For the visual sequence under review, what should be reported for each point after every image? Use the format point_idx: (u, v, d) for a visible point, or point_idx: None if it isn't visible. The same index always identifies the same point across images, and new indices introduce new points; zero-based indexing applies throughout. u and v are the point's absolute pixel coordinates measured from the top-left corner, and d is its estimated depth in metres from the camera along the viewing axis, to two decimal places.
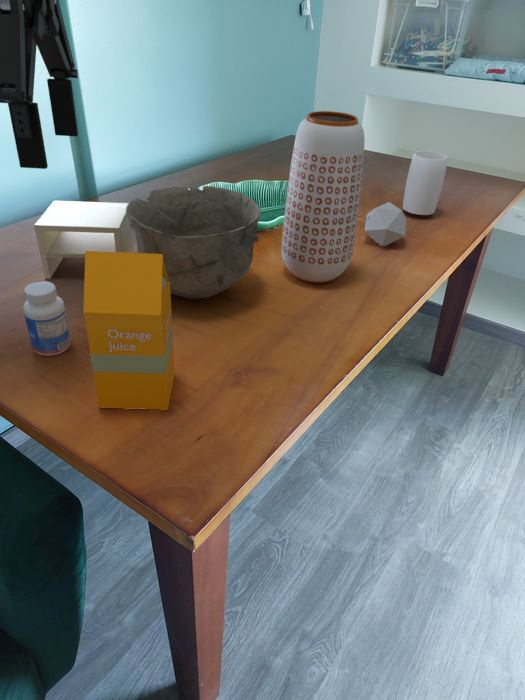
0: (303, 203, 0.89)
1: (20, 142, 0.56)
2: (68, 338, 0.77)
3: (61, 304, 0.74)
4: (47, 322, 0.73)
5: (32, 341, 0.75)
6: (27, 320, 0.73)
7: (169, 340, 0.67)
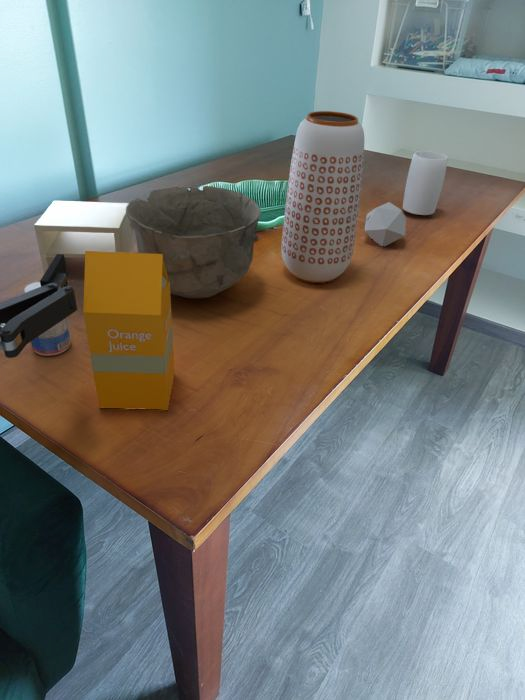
0: (303, 203, 0.89)
1: None
2: (68, 338, 0.77)
3: None
4: None
5: (32, 341, 0.75)
6: None
7: (169, 340, 0.67)
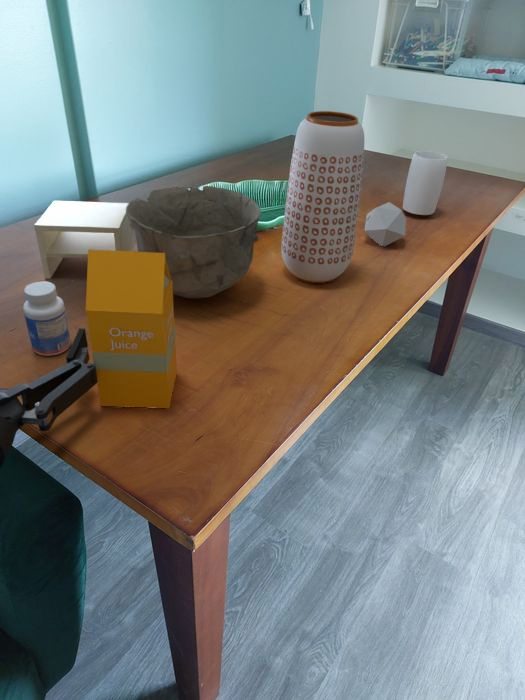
0: (303, 203, 0.89)
1: None
2: (68, 338, 0.77)
3: (61, 304, 0.74)
4: (47, 322, 0.73)
5: (32, 341, 0.75)
6: (27, 320, 0.73)
7: (171, 339, 0.68)
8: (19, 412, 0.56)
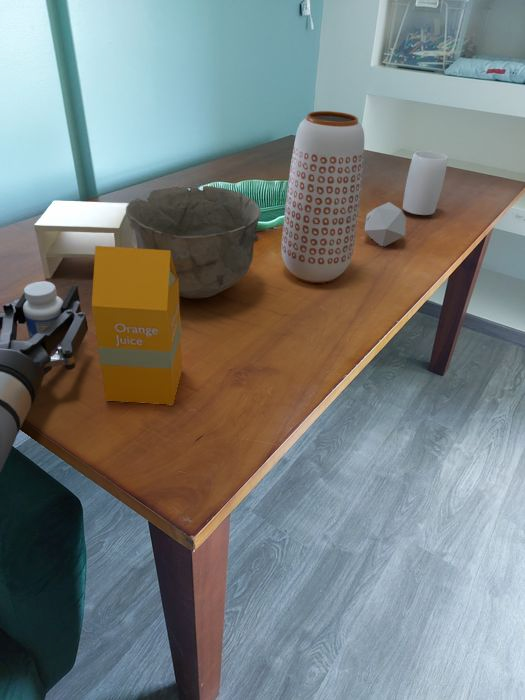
0: (303, 203, 0.89)
1: None
2: None
3: (61, 304, 0.74)
4: (47, 322, 0.73)
5: None
6: (27, 320, 0.73)
7: (176, 336, 0.68)
8: (48, 357, 0.65)
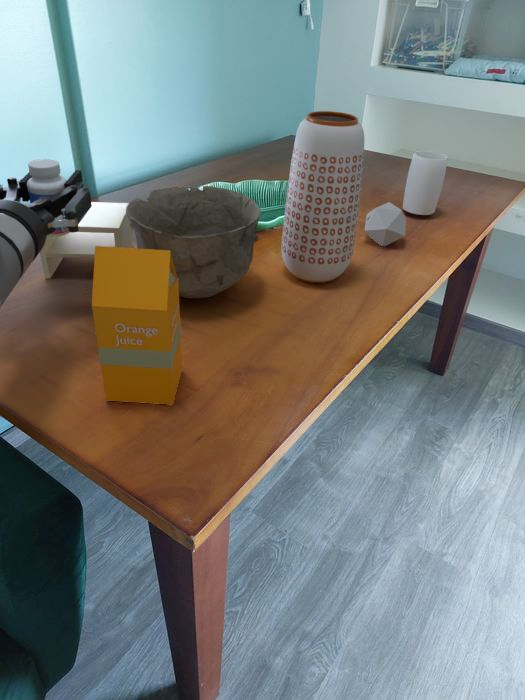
0: (303, 203, 0.89)
1: None
2: None
3: None
4: None
5: None
6: (31, 196, 0.74)
7: (176, 336, 0.68)
8: (51, 216, 0.65)
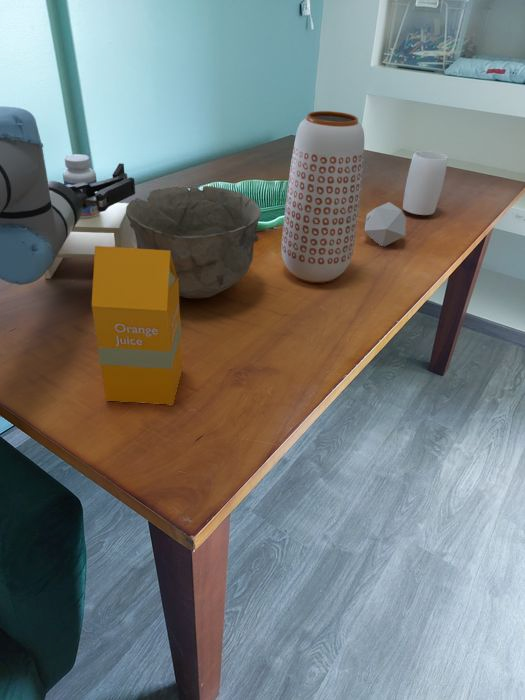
0: (303, 203, 0.89)
1: None
2: None
3: (94, 173, 0.91)
4: None
5: None
6: (66, 184, 0.90)
7: (176, 336, 0.68)
8: (84, 196, 0.80)
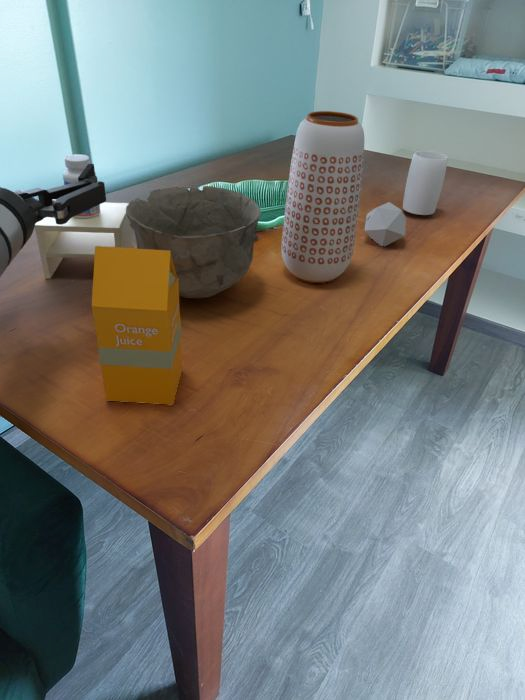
0: (303, 203, 0.89)
1: None
2: (98, 205, 0.94)
3: None
4: None
5: None
6: (66, 184, 0.90)
7: (176, 336, 0.68)
8: (38, 205, 0.64)
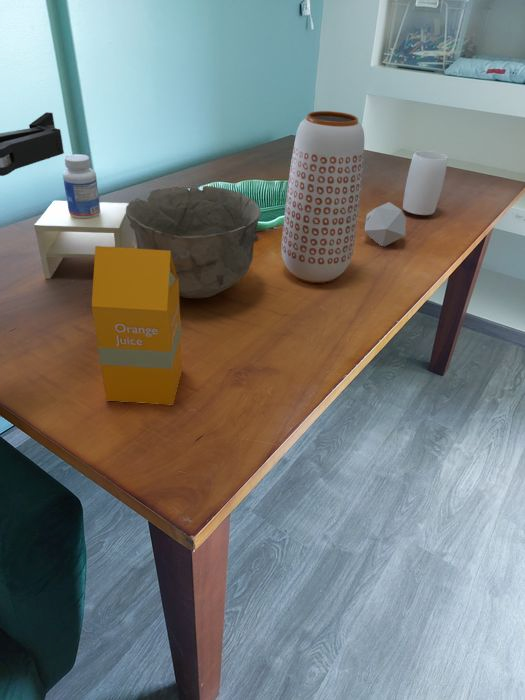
0: (303, 203, 0.89)
1: None
2: (98, 205, 0.94)
3: (94, 173, 0.91)
4: (83, 186, 0.89)
5: (69, 204, 0.92)
6: (66, 184, 0.90)
7: (176, 336, 0.68)
8: None
